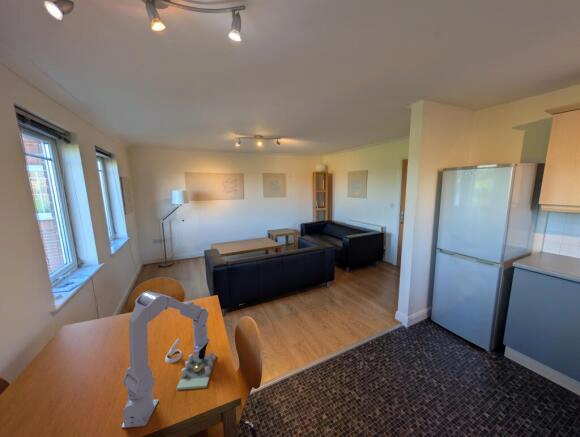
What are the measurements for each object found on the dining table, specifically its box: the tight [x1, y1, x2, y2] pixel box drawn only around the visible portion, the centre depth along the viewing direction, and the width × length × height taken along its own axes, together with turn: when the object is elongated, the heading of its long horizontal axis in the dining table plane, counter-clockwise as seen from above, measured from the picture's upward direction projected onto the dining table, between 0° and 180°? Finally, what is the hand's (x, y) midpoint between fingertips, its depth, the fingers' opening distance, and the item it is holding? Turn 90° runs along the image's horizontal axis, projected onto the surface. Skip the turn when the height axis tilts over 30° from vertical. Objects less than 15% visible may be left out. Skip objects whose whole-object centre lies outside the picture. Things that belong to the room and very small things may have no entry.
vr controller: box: [164, 338, 183, 364], centre depth 108 cm, size 8×12×7 cm
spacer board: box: [176, 352, 217, 391], centre depth 99 cm, size 17×12×4 cm
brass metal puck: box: [193, 363, 203, 374], centre depth 99 cm, size 4×4×2 cm
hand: (202, 358), depth 105 cm, fingers closed
